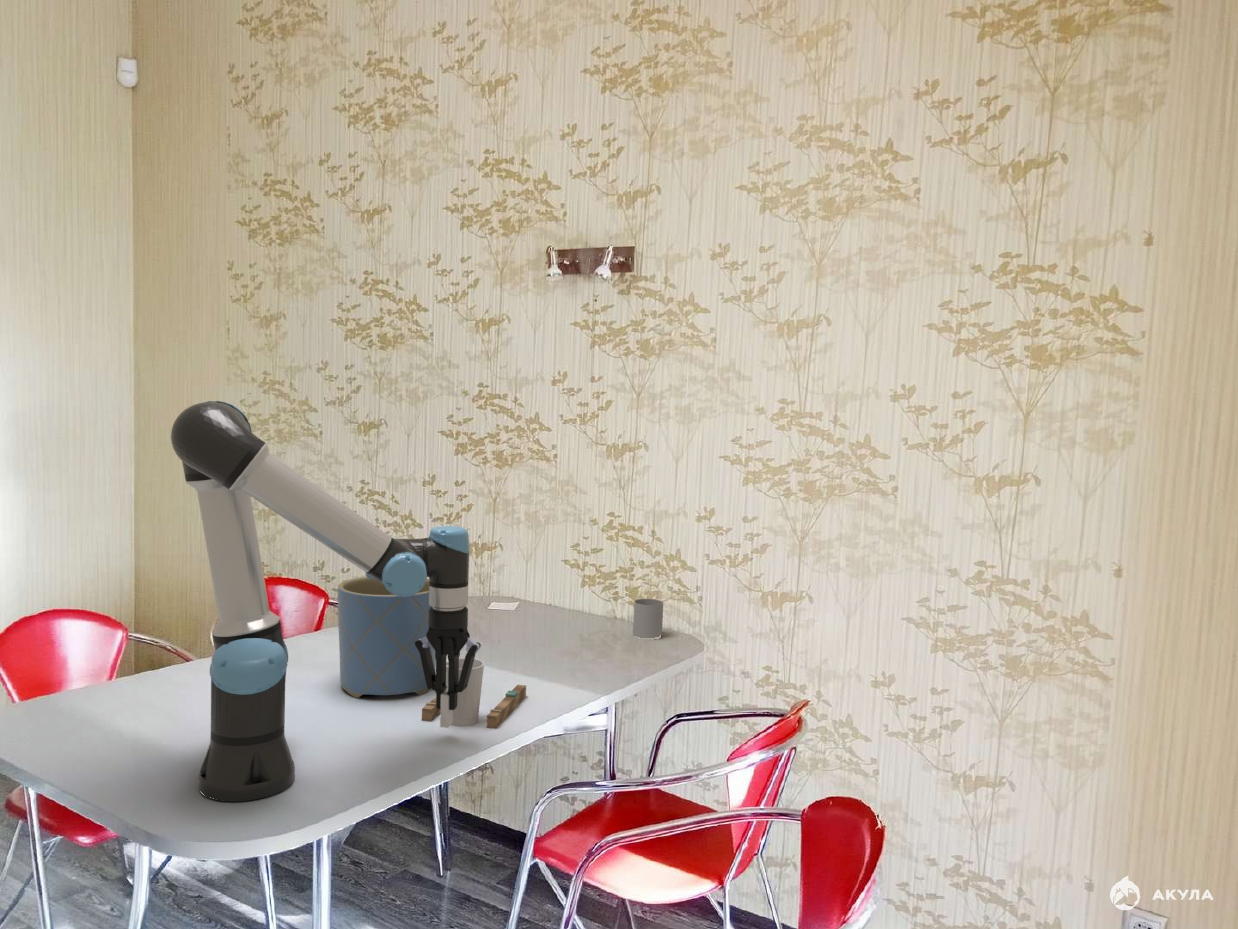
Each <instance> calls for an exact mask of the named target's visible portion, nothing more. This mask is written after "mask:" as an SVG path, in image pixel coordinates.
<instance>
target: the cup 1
mask: <svg viewBox="0 0 1238 929" xmlns="http://www.w3.org/2000/svg"><path fill="white" fill-rule="evenodd" d="M464 660H465V657H461V658H460V657H459V679H460V675H461V671H462V667H463V664H464ZM448 668H449V661H448V660H446V686H447V688H446V690H448ZM484 668H485V662H484V661H483V660H480V659H477V658H474V662H473V666H472V670H471V674H470V677H469V681H468V685H467V688H466V689H464V690H463V691H462V692H458V694H457V707H456V709H455V710H453V723H452V724H451V725H453V726H458V727H467V726H472V725H475V724H477V723H479V714H480V703H481V697H482V696H481V694H482V685H483V678H484Z"/></svg>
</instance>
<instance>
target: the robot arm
mask: <svg viewBox="0 0 1238 929" xmlns="http://www.w3.org/2000/svg"><path fill="white" fill-rule="evenodd" d="M170 440H171V445H172V446H171V447H172V448H173V450H174V453H175V455H176V456H177V458H179V460H181V461H182V462H181V463H182V468H183V473H184V479H185V483H186V484H188V485H189V486H190V487H192V488H193V489H194V490H195V491H196V492H197V493H196V494H197V498H198V504H199V511H200V515H201V516H200V517H201V521H202V528H203V533H204V540H205V547H206V552H207V558H208V564H209V569H210V574H211V575H210V576H211V580H212V586H213V592H214V598H215V605H216V610H217V615H218V622H217V623H216V625H214V627H213V629H212V630H211V635H212V642H213V647H214V652H213V654H212V657H211V663H210V666H209V676H210V740H209V745H208V747H207V751H206V754H205V757H204V759H203V762H202V765H201V767H200V770H199V773H198V792H199V791H201V792H202V793H203V794H204V795H205V796H207V797H211V798H214V799H217V800H216V801H219V800H224V801H223V802H246V801H254V800H259V799H263V798H267V797H270V796H274V795H277V794H279V793H281V792H283V791H285V790H286V789H287V788H289V787H290V786H291V785H292V784H293V783H294V781H295V776H296V775H295V774H296V773H295V772H296V767H295V761H294V760H293V757H292V752H291V751H290V747H289V745H288V742H287V738H286V735H285V727H286V726H285V722H286V721H285V720H286V717H285V716H286V715H285V714H286V713H285V712H286V682H287V681H286V677H287V667H288V662H289V651H288V648H287V644H286V643H285V640H284V637H283V630H282V623H281V617H280V616H278V615H277V614H276V613H274V612H273V611H271V609H270V606H269V600H268V593H267V587H266V581H265V575H264V569H263V568H264V567H263V563H262V557H261V550H260V545H259V544H260V543H259V538H258V533H257V532H258V531H257V526H256V521H255V514H254V508H253V502H252V498H253V499H255V501H257V502H259V503H260V504H262V505H263V506H265V507H266V508H268V509H269V510H271V511H272V512H274V513H275V514H277V515H279V516H280V517H281V518H283V519H285V520H286V521H287V522H289V523H291V524H292V525H293V526H295V527H297V528H298V529H300V530H301V531H303V532H304V533H306V534H308V535H309V536H310V537H312V539H315V540H316V541H318V542H320V543H321V544H322V545H324V546H326V548H328V549H330V550H331V551H333V552H334V553H336V554H337V555H338V556H341V557H342V558H343V559H345V560H347V562H350V563H351V564H353V565H354V566H356V567H357V568H359V569H360V570H361V571H363V572H365V577H367V578H369V579H376V580H377V581H379V582H380V583H382V584H383V585H384V586H385V588H386V589H387V590H388V591H389V592H391V593H392V594H394V595H396V596H399V597H409V596H412V595H414V594H416V593H418V592H419V591H420V590H421V589H422V588H423V586H424V584H425V582H426V578H428V579H429V605H430V606H431V607H430V609H429V621H428V625H429V629H428V631H427V633H426V636H425V637H424V638H420V639H419V640H417V641H416V642H415V646H416V647H417V649H418V651H419V653H420V657H421V662H422V666H423V671H424V676H425V680H426V685H427V688H428V690H432V691H434V692H435V694H436V695H435V698H436V707H437V709H441V711H440V714H439V716H440V718H439V719H440V723H439V727H440V728H444V729H445V728H446V729H448V728H449V727H450V726H451V725H452V723H453V710H455V709H456V707H457V694H458V692H462V691H463V690H464V689H466V688H467V685H468V681H469V677H470V674H471V670H472V666H473V662H474V659H476V654H477V652H478V651H479V650H480V648H482V647H481V646H482V644H481V643H480V642H475V641H474V640H473V639H471V638H470V637H471V635H470V633H469V631H468V624H469V623H468V622H469V621H468V620H469V608H468V607H467V605H468V604H469V570H470V569H469V568H470V566H469V565H470V554H471V553H470V545H469V544H470V539H469V536H470V535H469V531H468V530H466V528H464V527H461V526H457V525H455V526H454V525H452V526H451V525H446V526H445V525H443V526H434V527H431V529H430V530H429V535H428V537H424V538H393V537H391V535H389V534H387V533H386V532H384V531H383V530H382V529H380V528H379V527H377V526H376V525H374V524H373V523H371V522H370V521H368V520H367V519H365V518H364V517H363V516H361V515H360V514H359V513H358V512H355V511H354V510H353V509H351V508H350V507H348V506H347V505H346V504H344V503H343V502H341V501H340V500H338V499H337V498H335V497H334V496H332V495H331V494H329V493H328V492H326V491H325V490H323V488H320V487H319V486H318V485H317V484H315V483H314V482H312V481H311V480H310V479H308V478H306V477H305V476H303V475H302V474H300V472H297V471H296V470H295V469H293V468H292V467H291V466H289V465H287V464H286V463H285V462H283V461H282V460H281V459H279V458H277V457H276V456H275V455H273V454H272V453H271V452H270V451H269V446H268V443H267V442H265V441H264V440H263V439H261V438H260V437H258V436H256V434H254V433H253V431H252V426H251V423H250V422H249V419H248V418H247V416H246V415H245V414H244V412H243V411H242V410H240V409H239V408H238V407H236V406H235V405H233V404H231V403H228V402H226V401H221V400H214V401H213V400H212V401H211V400H208V401H204V402H199V403H196V404H195V403H194V404H193V405H190V406H189V407H187V408H185V409H184V410H183V411H182V412H180V413H179V415H178V416H177V417H176V418H175V419H174V422H173V424H172V428H171V433H170ZM429 642H430V643H429ZM430 644H431V645H432V647H433V648H434V650H435V659H436V668H435V669H434V665H433V660H432V655H431V651H430V647H429V646H430ZM465 646H466V647H465ZM464 647H465V651H466V653H465V657H464V658H465V660H464V664H463V667H462V671H461V675H460V679H459V658H460V657H461V656H460V655H461V651H462V650H463V648H464ZM447 661H449V668H448V690H446V691H445V689H446V688H447V686H446V662H447ZM205 796H204V797H205ZM207 797H206V798H207ZM214 799H213V800H214Z"/></svg>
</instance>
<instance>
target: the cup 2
mask: <svg viewBox="0 0 1238 929" xmlns="http://www.w3.org/2000/svg"><path fill="white" fill-rule="evenodd" d="M633 604H634V605H633V624H632V625H633V626H632V628H633V629H632V636H633V635H634V636H637V637H640V638H655V637H659V636H660V635H662V636H663V617H664V616H663V615H664V601H662V600H659V599H655V598H654V599H653V598H641V599H636V600H634V602H633Z"/></svg>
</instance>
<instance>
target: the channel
mask: <svg viewBox="0 0 1238 929" xmlns="http://www.w3.org/2000/svg"><path fill="white" fill-rule="evenodd" d="M445 691H446V689H445ZM526 696H527V685H525V684H516V686H514V688H512V690H507V691H506V693H505V696H504V698H502V700H501V701H500V702H499V703H497V705H496V706H495V707H494V708H491V709H490V712H489V713H488V714H487V716H486V728H487V729H497V728H498V727H499V726H500V725H501V724H502V723H503V722H504V721H505V720H506V718H508V716H509V715H511V713H512V712H514V710H515V708H517V707H518V705H519V704H520V703H521V702H522V701H523V700H524V699H525V698H526ZM440 711H441V709H437V707H436V697H434V698H433V699H431V701H430V702H425V705H424V706H423V707H422V708H421V721H424V722H432V721H433V720H434V719H435V718H437V717H438V716H440Z"/></svg>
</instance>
